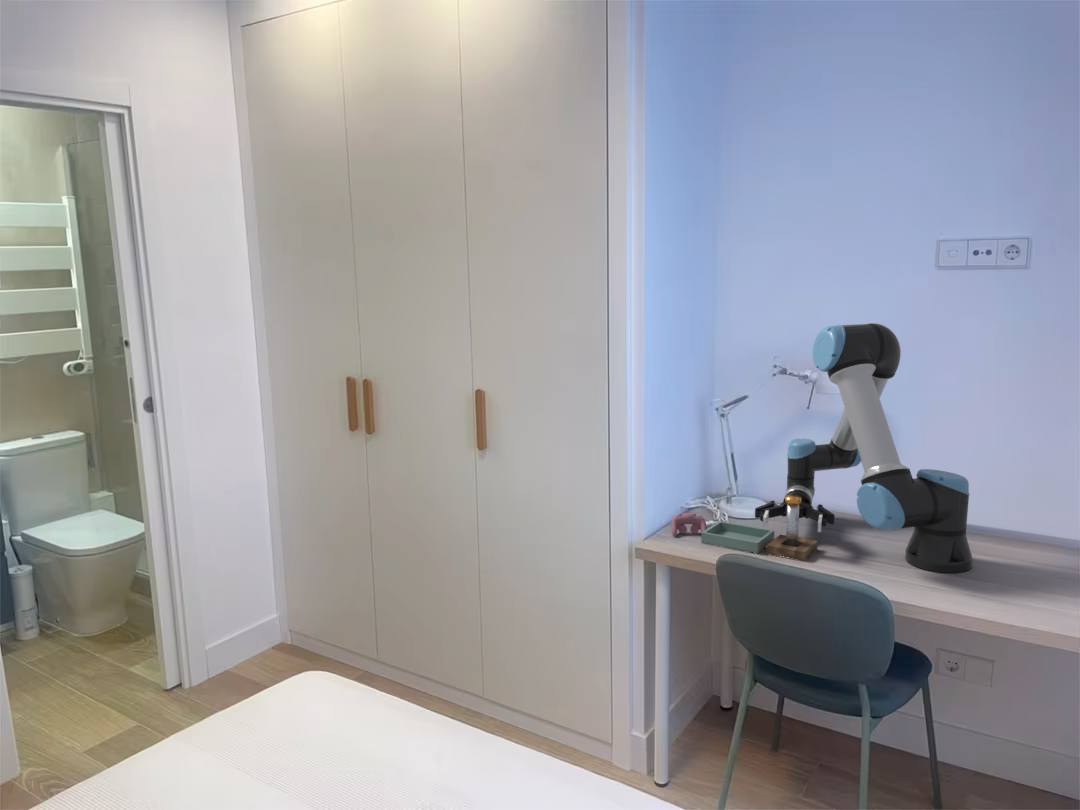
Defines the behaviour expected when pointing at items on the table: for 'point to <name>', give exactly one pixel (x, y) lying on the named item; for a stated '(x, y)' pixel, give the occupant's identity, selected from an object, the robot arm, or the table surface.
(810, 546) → the socket block
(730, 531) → the tray
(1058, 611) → the table surface
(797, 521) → the pin
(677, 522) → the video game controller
